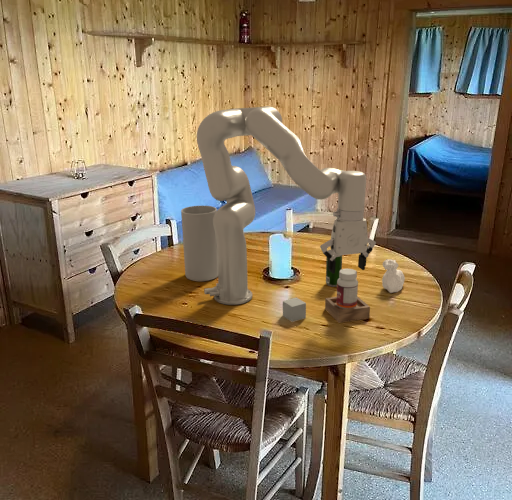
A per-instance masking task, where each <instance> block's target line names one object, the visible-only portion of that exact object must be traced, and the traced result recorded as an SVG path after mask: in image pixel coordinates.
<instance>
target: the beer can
mask: <svg viewBox="0 0 512 500" xmlns="http://www.w3.org/2000/svg"><path fill="white" fill-rule="evenodd" d="M327 251H328V253H329V252H330V251H331V249H327ZM325 257H326V256H325ZM325 260H326V261H325V262H326V264H325V265H326V266H325V270H326V271H325V283H326V285H327V287H332V288H333V287H334V288H335V287H336V288H337V281H338V279H339V278H340V277H339V272H340V270H341V269H343V255H337V256H336V258H335V259H334V260H335V261H336V265H335V273H331V272H330V271H329V269H328V258H327V257H326V259H325Z"/></svg>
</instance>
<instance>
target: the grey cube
mask: <svg viewBox="0 0 512 500" xmlns="http://www.w3.org/2000/svg"><path fill="white" fill-rule="evenodd" d="M282 317H284V318H285V319H287V320H289V321H290V322H291V323H294V322H298V321H300V320H304V319H306V318H307V303H306V302H305V301H304V300H302V299H300V298H298V297H292V298H290V299H286V300H285V299H284V300H282Z"/></svg>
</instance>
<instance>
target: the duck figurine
mask: <svg viewBox="0 0 512 500" xmlns="http://www.w3.org/2000/svg"><path fill="white" fill-rule="evenodd" d="M396 261H397V260H396V259H391V258H390V259H384V261H383V262H382V266H383V268H384V269H385V273H384V274H383V275H382V279H381V283H382V287H383V289H385V290H387V291H388V292H389V293H390V294H392V293H399V292H400V291H401V290H402V289H403V286H404V283H405V280H406V278H405V274H404V273H403V271H402V270H401V269H398V267H399V263H398V262H396Z"/></svg>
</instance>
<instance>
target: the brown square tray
mask: <svg viewBox="0 0 512 500" xmlns="http://www.w3.org/2000/svg"><path fill="white" fill-rule="evenodd" d="M324 299H325V300H324V301H325V302H324V303H325V305H324V309H325V311H326V312H327V313H328V314H329V315H330V316H332V318H333V319H334V320H336V322H337V323H339V324H341V323H346V322H355V321H359V320H360V321H361V320H368V319H370V313H371V312H370V311H371V307H370V306H369V304H367V303H366V302H365V301H363V299H361V298H360V297H359V296H358V295H357V306H356V307H355V308H348V309H341V308H339V307H338V306H337V304H336V301H337V296H333V297H326V298H324Z"/></svg>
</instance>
